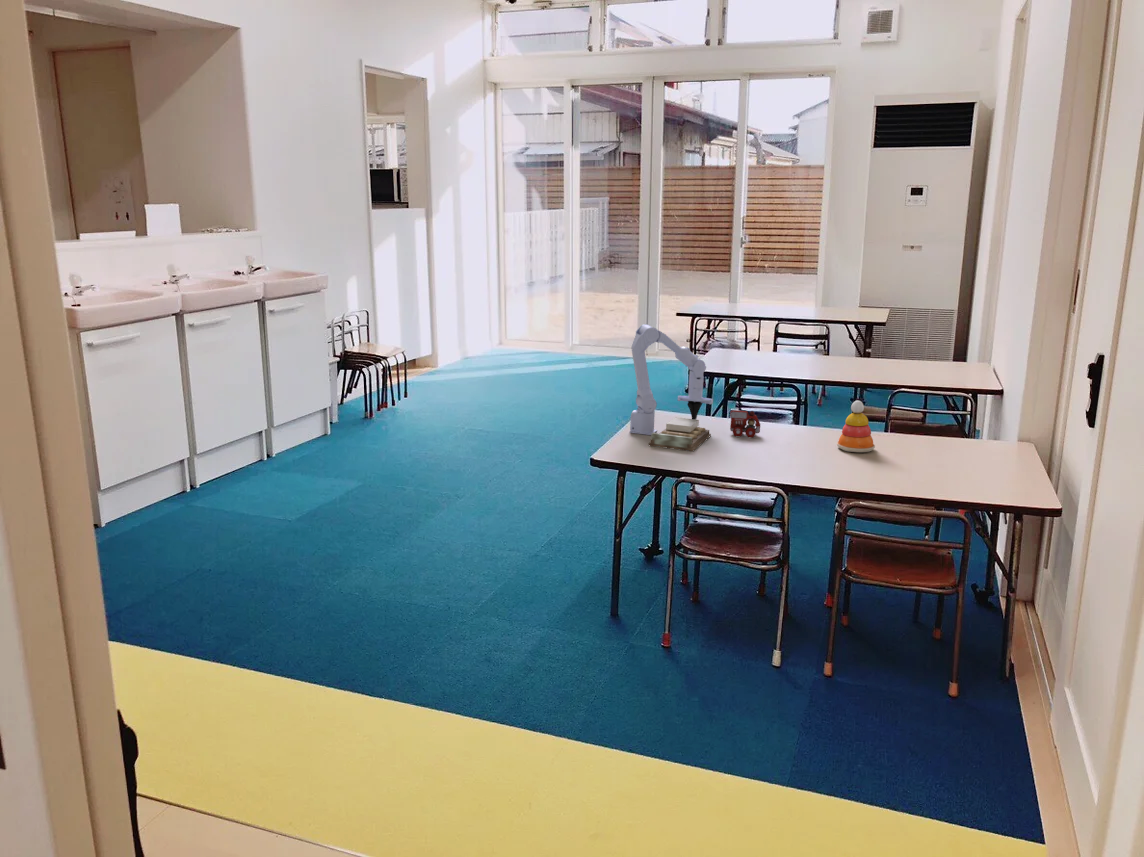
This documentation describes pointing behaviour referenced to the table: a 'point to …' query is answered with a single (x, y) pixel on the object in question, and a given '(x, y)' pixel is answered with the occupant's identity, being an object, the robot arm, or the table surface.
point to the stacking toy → (856, 431)
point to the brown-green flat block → (680, 439)
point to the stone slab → (682, 424)
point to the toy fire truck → (744, 423)
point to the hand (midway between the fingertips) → (694, 419)
